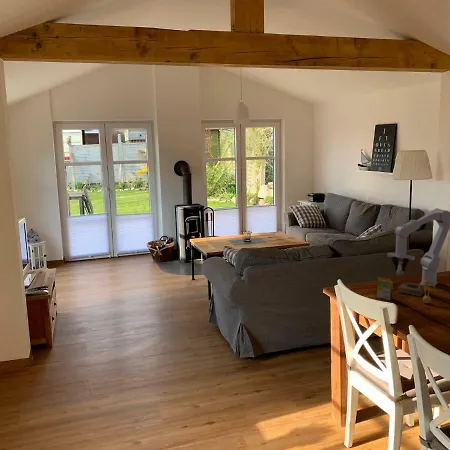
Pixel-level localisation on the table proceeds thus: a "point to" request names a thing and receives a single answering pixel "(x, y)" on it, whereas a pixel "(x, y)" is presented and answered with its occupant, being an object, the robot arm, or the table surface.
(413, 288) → the hole block
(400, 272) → the metal peg
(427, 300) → the figurine
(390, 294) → the crayon box
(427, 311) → the table surface
